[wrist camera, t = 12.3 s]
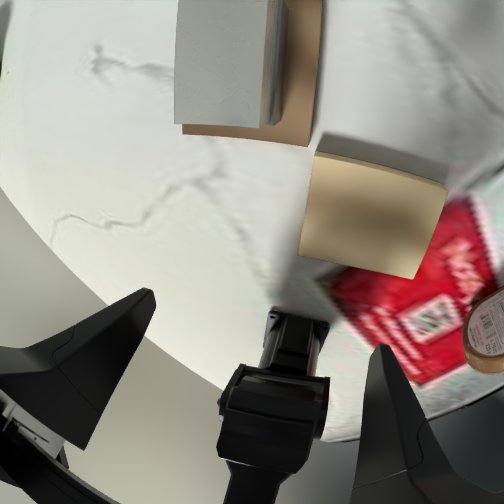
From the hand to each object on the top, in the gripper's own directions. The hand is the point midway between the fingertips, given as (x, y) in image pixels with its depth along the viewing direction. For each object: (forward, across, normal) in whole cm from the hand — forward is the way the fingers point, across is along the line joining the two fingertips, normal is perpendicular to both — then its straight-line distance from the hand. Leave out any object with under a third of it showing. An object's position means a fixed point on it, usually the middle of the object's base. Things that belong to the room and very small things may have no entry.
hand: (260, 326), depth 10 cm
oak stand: (+13, -6, 0) cm, 14 cm away
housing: (+12, +4, -10) cm, 16 cm away
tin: (+13, -24, +4) cm, 28 cm away
